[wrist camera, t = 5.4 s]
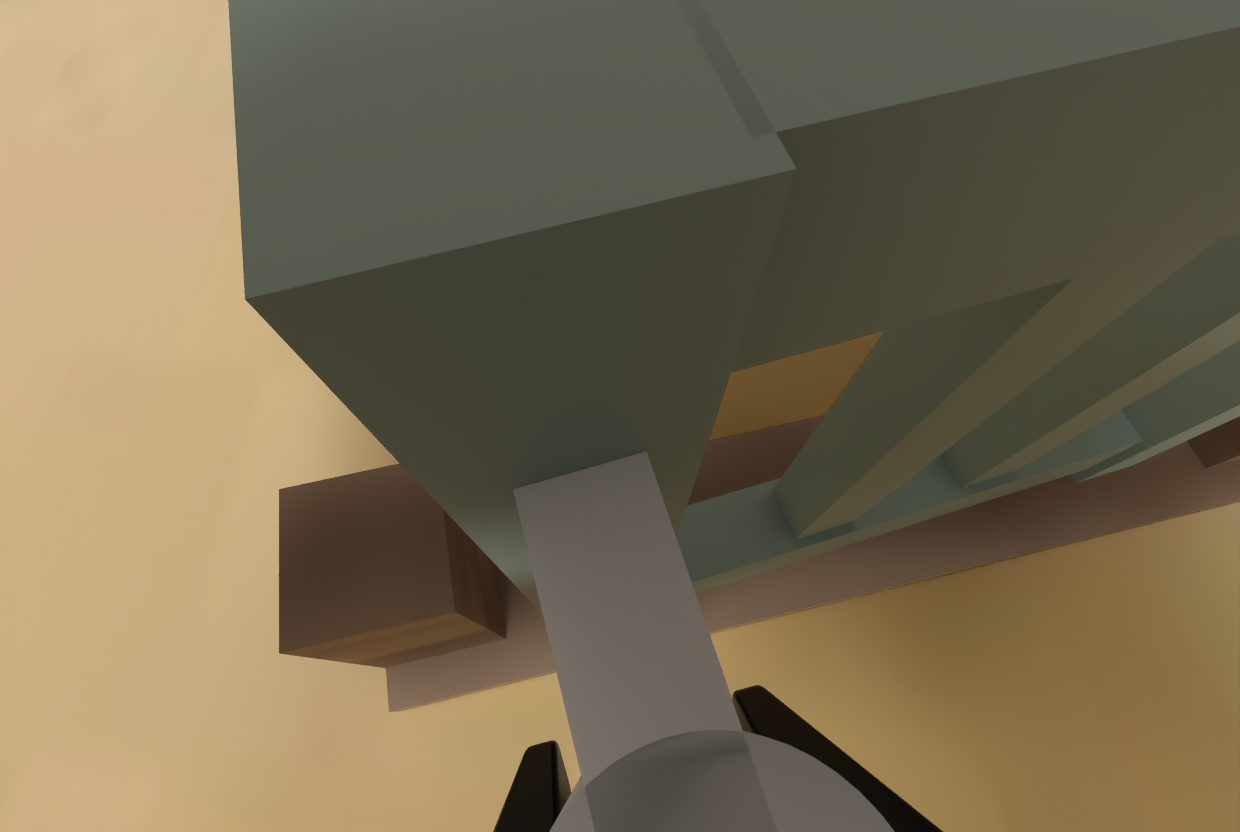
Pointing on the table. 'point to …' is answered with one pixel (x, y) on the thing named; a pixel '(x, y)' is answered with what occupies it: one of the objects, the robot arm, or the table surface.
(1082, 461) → the gate leaf
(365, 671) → the table surface
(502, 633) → the gate frame
